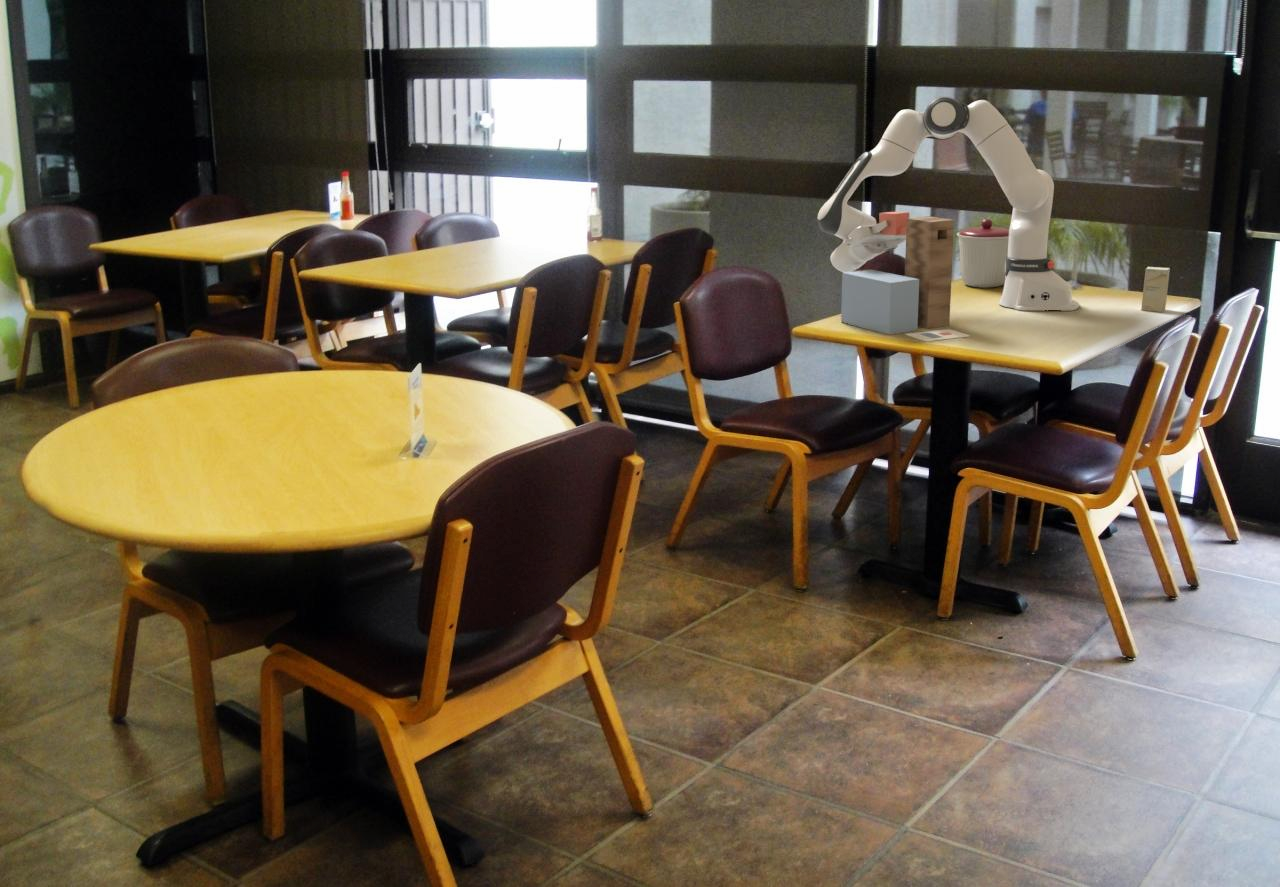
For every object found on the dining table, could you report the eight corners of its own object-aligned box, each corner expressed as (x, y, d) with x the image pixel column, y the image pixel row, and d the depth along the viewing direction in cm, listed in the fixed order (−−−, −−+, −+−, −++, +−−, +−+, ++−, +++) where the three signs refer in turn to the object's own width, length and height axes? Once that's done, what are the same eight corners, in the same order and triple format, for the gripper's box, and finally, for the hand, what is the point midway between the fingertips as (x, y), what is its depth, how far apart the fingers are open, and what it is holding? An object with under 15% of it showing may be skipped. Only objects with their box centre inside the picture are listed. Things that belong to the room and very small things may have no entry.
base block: (841, 322, 386) (842, 272, 382) (868, 318, 391) (870, 269, 387) (888, 334, 369) (890, 282, 365) (917, 330, 374) (919, 279, 370)
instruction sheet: (904, 334, 368) (904, 333, 368) (948, 329, 374) (948, 328, 373) (925, 341, 360) (925, 340, 360) (970, 336, 365) (970, 335, 365)
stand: (903, 322, 384) (906, 218, 376) (924, 319, 388) (929, 216, 379) (927, 328, 375) (931, 222, 367) (949, 325, 379) (954, 219, 371)
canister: (1014, 290, 428) (1018, 222, 422) (955, 289, 432) (958, 222, 426) (1011, 280, 445) (1015, 215, 439) (954, 280, 449) (957, 215, 443)
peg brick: (879, 234, 389) (879, 213, 387) (893, 233, 391) (892, 211, 390) (925, 237, 373) (924, 214, 371) (938, 235, 375) (938, 213, 374)
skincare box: (1140, 310, 394) (1144, 268, 391) (1143, 307, 398) (1146, 266, 395) (1164, 312, 391) (1167, 269, 388) (1166, 309, 395) (1170, 267, 392)
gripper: (837, 234, 392) (865, 214, 380) (893, 228, 402) (921, 208, 390) (844, 255, 391) (872, 235, 379) (899, 248, 401) (928, 229, 389)
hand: (897, 221), depth 385 cm, fingers open, 6 cm apart
